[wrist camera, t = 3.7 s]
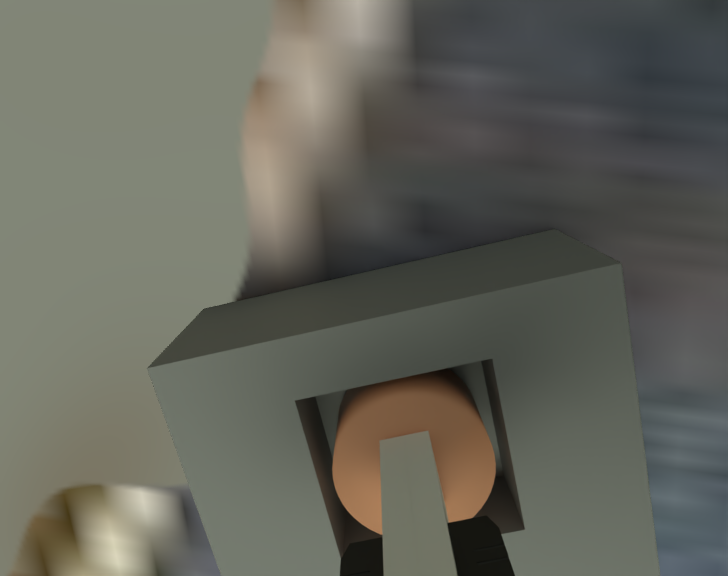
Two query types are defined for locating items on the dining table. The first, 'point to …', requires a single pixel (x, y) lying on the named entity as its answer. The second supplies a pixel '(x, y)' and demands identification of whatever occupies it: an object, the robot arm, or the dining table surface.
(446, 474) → the terracotta button
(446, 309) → the button console
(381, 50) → the dining table surface
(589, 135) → the dining table surface
